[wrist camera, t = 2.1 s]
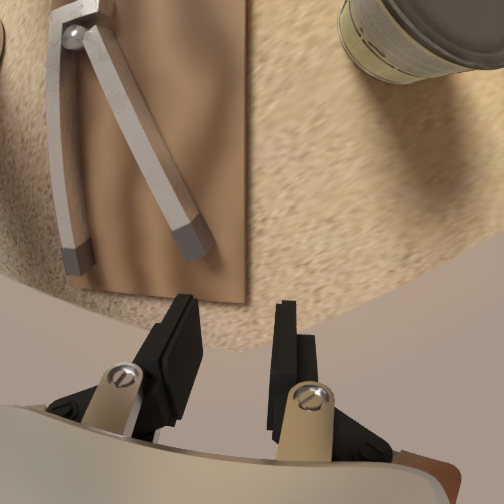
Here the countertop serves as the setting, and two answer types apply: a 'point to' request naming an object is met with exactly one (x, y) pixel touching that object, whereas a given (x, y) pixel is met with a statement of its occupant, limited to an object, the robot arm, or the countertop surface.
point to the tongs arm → (143, 138)
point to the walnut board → (169, 149)
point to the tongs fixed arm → (69, 132)
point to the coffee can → (422, 37)
